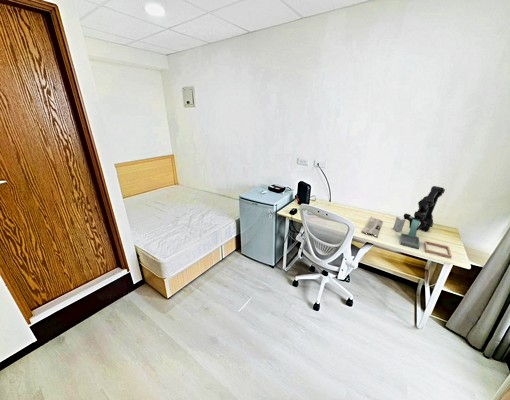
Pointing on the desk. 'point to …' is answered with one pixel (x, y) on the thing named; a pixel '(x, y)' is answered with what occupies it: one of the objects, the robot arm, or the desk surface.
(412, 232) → the canister
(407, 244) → the tray
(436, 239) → the desk surface
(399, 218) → the skincare box
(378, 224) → the newspaper
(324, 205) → the desk surface
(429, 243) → the pink square frame
